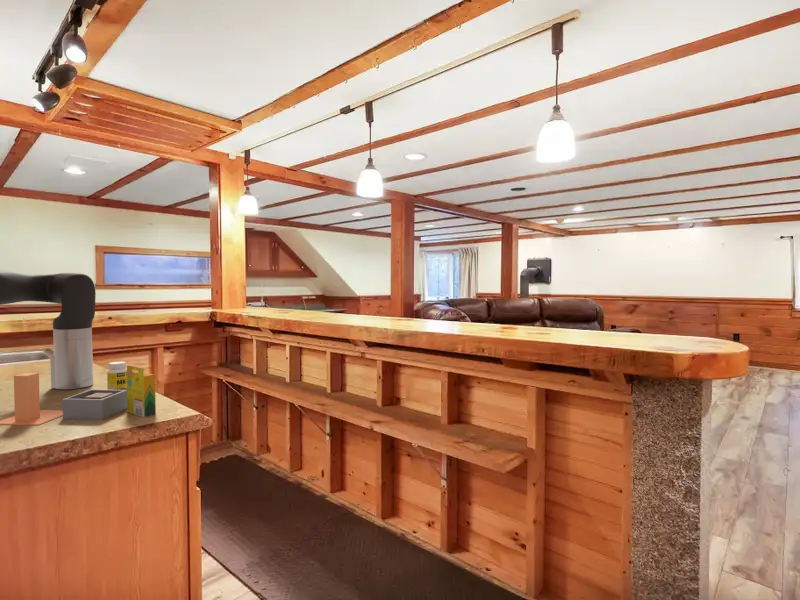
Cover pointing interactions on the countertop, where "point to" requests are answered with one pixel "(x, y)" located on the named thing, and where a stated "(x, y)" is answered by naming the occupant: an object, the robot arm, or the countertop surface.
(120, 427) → the countertop surface
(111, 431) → the countertop surface
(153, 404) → the crayon box
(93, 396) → the walnut block
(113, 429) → the countertop surface
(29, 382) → the lid
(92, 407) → the tub
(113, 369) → the supplement bottle
